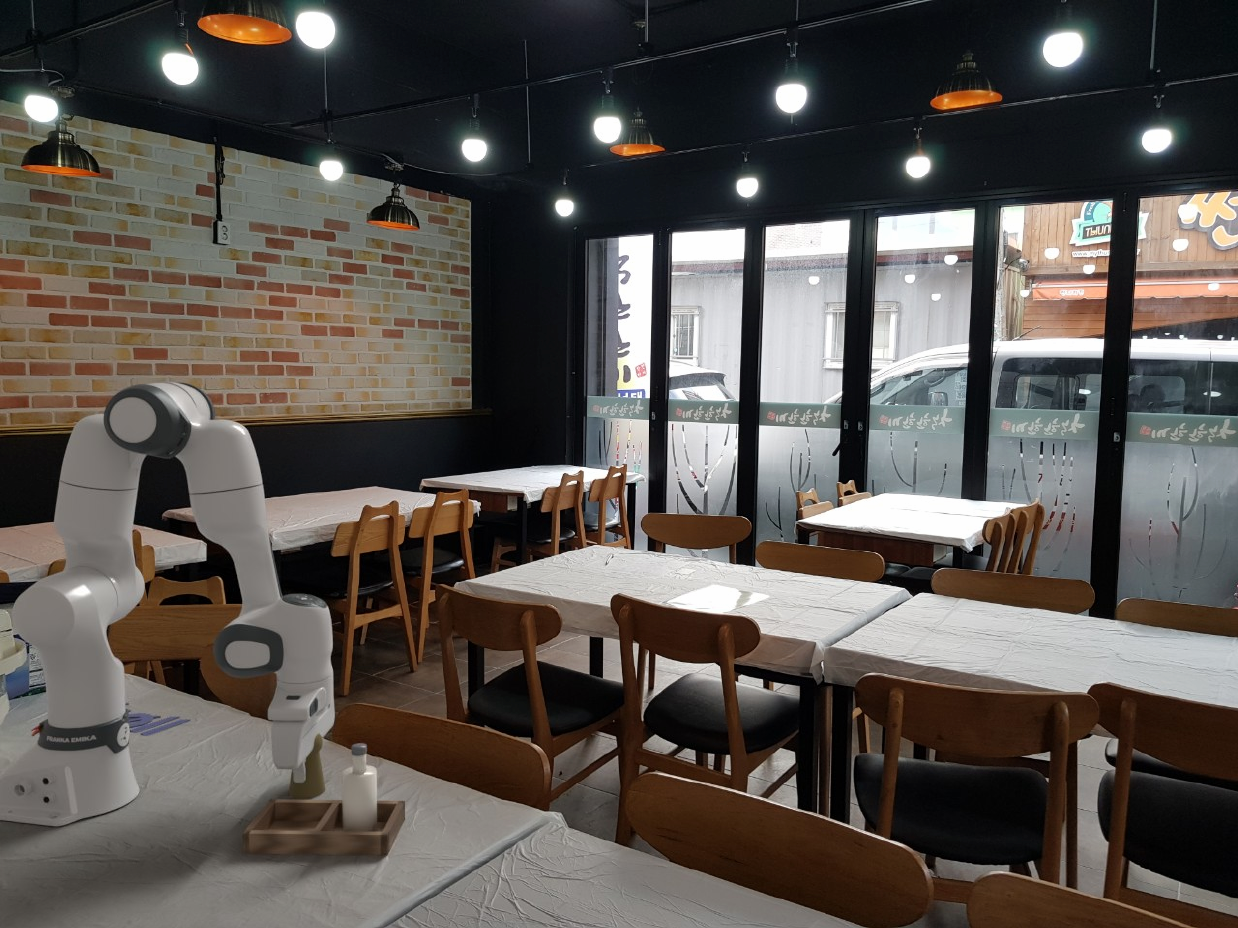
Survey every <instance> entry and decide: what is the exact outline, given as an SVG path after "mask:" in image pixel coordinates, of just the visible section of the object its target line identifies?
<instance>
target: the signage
mask: <svg viewBox="0 0 1238 928" xmlns="http://www.w3.org/2000/svg"><path fill="white" fill-rule="evenodd" d="M126 706H129V702H125V707H126ZM126 709H127V710H128V713H129V729H130V733H131V732H132V733H134V734H137V733H140V735H141V736H145V737H149V736H153V735H155V734H158V733H161V732H163V731H166V730H169V729H172V728H174V727H176V726H180V725H182V724H186V723H188V722H190V721H191V719H190V718H189V719H187V718H185V719H182V718H180V716H169V717H165V718H164V717H163V718H162V717H161V715H157V714H155V715H153V714H150V713H143V712H142V713H141V712H136V713H135V712H134V713H130V712H132V710H131V709H129V708H126ZM155 719H159V720H157V721H153V720H155ZM160 719H161V720H160ZM177 719H178V720H177ZM151 722H152V723H151ZM166 723H167V724H166ZM163 724H164V725H163Z"/></svg>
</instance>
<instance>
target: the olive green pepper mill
mask: <svg viewBox="0 0 1238 928" xmlns="http://www.w3.org/2000/svg"><path fill="white" fill-rule="evenodd" d="M323 743H324V741H323V738H322V736H321V735H320V733H319V734H317V736H316V737H315V740H314V747H313V750H312V751H311V752H310V754H309V755H308V756H307V757H306V762H305V769H307V778H306V780H305V781H304V782H303V783H295V782H294V775H293V771H292V770H291V772H290V773H291V774H290V784H289V791H288V795H289V797H290V798H292V799H294V800H311V799H314V798H317V797H319V796H321V795H323V794H324V793H325V792H326V785H325V778H324V771H323V766H322V759H321V758H322V757H321V750H322V747H323V745H324V744H323Z"/></svg>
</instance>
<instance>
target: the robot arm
mask: <svg viewBox="0 0 1238 928" xmlns="http://www.w3.org/2000/svg"><path fill="white" fill-rule="evenodd" d="M103 411H104V413H98V414H97V413H95V414H90V415H88V416H85V417H83V418H81V419H80V420H79V421H77V422H76V424H75V425H74V427H73V428H72V431H71V434H70V437H69V439H68V443H67V445H66V449H65V453H64V455H63V456H64V457H63V459H62V460H63V461H62V465H61V470H60V476H59V482H58V489H57V496H56V504H55V512H54V520H53V528H54V531H55V533H56V534H57V535H58V536H59V537H60V538H61V539H62V542H63V545H64V553H65V565H64V568H63V570H62V571H59V572H56V573H53V574H51V575H47V576H45V577H43V578H41V579H39V580H37V581H36V582H35V583H33V584H32V585H30V586H29V587H28V588H27V589H25V590H24V591H23V592H21V594H20V595H19V596H18V597H17V599H16V600H15V602H14V604H13V607H12V611H11V620H12V624H13V627H14V629H15V632H16V633H17V634H18V635H19V637H20V638H21V639H22V640H23V641H24V642H26V643H28V644H29V645H31V646H32V647H33V649H34V650H35V652H36V654H37V657H38V659H39V662H40V664H41V666H42V670H43V671H42V672H43V674H44V680H45V691H46V694H45V695H46V705H47V706H46V707H47V718H46V719H44V720H42V721H41V722H39V723H38V725H37V726H35V727H34V728H32V729H30V731H31V732H32V733H31V737H34V736H36V735H38V734H39V737H38V739H37V743H35V744H34V745H32V746H31V747H30V748H29V749H27V750H26V751H25V752H24V753H22V754H20V756H18V757H17V758H16V759H15V760H13V761H12V762H11V763H10V764H8V765H7V767H6V768H4V770H3V772H1V775H0V821H8V822H15V823H24V824H32V825H41V826H50V827H51V826H52V827H60V826H61V827H62V826H66V825H68V824H71V823H74V822H76V821H79V820H82V819H85V818H90V817H93V816H98V815H102V814H106V813H108V812H112V811H114V810H116V809H119V808H121V807H124V806H126V805H127V804H129V803H131V801H133V800H134V799H135V798H137V796H138V795H139V793H140V787H139V785H138V781H137V779H136V775H135V773H134V769H133V765H132V759H131V755H130V749H129V748H130V747H129V746H130V745H129V744H130V733H131V732H130V730H131V728H129V724H130V723H129V714H130V712H128V710H129V709H128V708H126V706H125V703H126V683H125V667H124V664H123V662H122V661H121V660H120V659H119V658H117V657H115V655H114V654H113V652H112V650H111V646H110V644H109V641H108V636H107V630H108V626H109V625H112V624H115V623H116V622H117V621H119V620H122V619H124V618H125V617H126V616H127V615H129V613H130V612H132V611H133V610H134V608H135V607H136V606H138V604H139V603H140V602H141V601H142V598H143V596H144V593H145V588H146V587H145V585H146V584H145V579H144V576H143V574H142V572H141V570H140V569H139V567H137V566H136V559H135V552H134V543H133V542H134V541H133V527H134V520H135V512H136V507H137V506H136V505H137V499H138V491H139V482H140V474H141V469H142V466H143V462H144V460H145V458H146V457H147V456H152V457H155V458H156V457H157V458H162V459H168V460H169V459H170V460H171V459H173V458H174V457H175V458H177V460H179V461H180V462H181V464H182V465H183V468H184V471H185V475H186V480H187V486H188V487H187V488H188V494H189V501H190V507H191V511H192V515H193V519H194V522H195V523H196V526H197V529H198V531H199V532H200V533H201V534H202V535H203V536H204V537H205V538H206V539H207V540H209V541H211V542H212V543H215V544H218V545H219V546H222V547H223V549H225V550H226V551H227V552H228V553H229V554H230V556H231V558H232V560H233V562H234V563H233V564H234V568H235V572H236V575H237V580H238V586H239V589H240V595H241V600H242V603H241V605H242V606H241V610H240V613H239V615H238V617H236V618H235V619H233V620H231V622H230V623H228V624H227V625H226V626H225V627H223V629H222V630H220V632H219V633H218V634H217V636H216V638H215V640H214V642H213V647H212V649H213V650H212V651H213V652H212V653H213V657H214V661H215V662H216V664H217V666H218V667H219V669H220V670H221V671H223V672H224V673H225V674H226V675H228V676H229V677H233V678H237V679H249V678H255V677H260V676H261V677H262V676H266V675H270V674H273V673H274V674H275V675H276V688H275V691H274V695H273V698H272V700H271V702H270V704H269V706H268V708H267V719H268V720H269V721H272V723H271V727H270V740H271V741H270V742H271V755H272V762H273V765H274V767H275V768H276V769H277V770H291V772H292V771H293V775H294V782H295V783H303V782H304V781H305V780H306V778H307V769H305V762H306V757H307V756H308V755H309V754H310V752H311V751H312V750H313V747H314V740H315V737H316V736H317V734H319V733H320V735H321V736H322V739H323V738H325V736H326V735H327V734H328V732H329V731H330V730H331V729H332V728H333V726H334V724H335V718H336V716H335V713H336V712H335V711H336V710H335V699H334V697H335V696H334V670H333V666H332V660H331V656H332V652H333V645H334V642H333V626H332V625H333V624H332V618H331V614H330V613H331V612H330V609H329V606H328V605H327V603H326V601H325V600H323V599H321V598H320V597H317V596H315V595H313V594H306V593H289V594H285V595H284V594H283V593H282V589H281V585H280V580H279V576H278V571H277V566H276V562H275V556H274V552H273V548H272V542H271V539H270V533H269V527H268V520H267V519H268V517H267V507H266V498H265V489H264V484H263V477H262V473H261V467H260V463H259V458H258V456H257V452H256V448H255V445H254V443H253V440H252V437H251V434H250V433H249V430H248V429H247V428H246V427H245V426H244V425H242V424H241V423H239V422H237V421H234V420H230V419H221V418H220V419H216V410H215V407H214V403H213V402H212V400H211V398H210V397H209V395H208V394H206V393H205V392H204V391H203V390H202V389H201V388H199V387H197V386H194V385H193V384H189V383H186V382H174V381H154V382H151V383H144V384H143V383H142V384H141V383H140V384H133V385H131V386H127V387H126V388H123V389H121V390H119V391H118V392H117V393H115V394H114V395H113V396H112V397H111V398H110V399H109V401H108V402H107V404H106V405H105V408H104V410H103ZM127 709H128V710H127Z"/></svg>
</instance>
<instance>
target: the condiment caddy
mask: <svg viewBox="0 0 1238 928" xmlns="http://www.w3.org/2000/svg"><path fill="white" fill-rule="evenodd" d="M405 820H406V801H405V800H377V832H364V831H343V807H342V799H282V798H281V799H278V798H276V799H274V798H273V799H272V798H271V799H269V800H268V802H267V803H266V804H265V806H264V807H263V808H262V809H261V810H260V812H258V814H257V815H256V816H255V817H254V819H253V820H252V821H251V822H250V823H249V825H248V826H247V827H246V828H245V830H244V831H243V832H242V833H241V839H242V840H241V841H242V842H241V843H242V846H241V847H242V854H243V855H248V854H249V855H316V856H317V855H319V856H321V855H322V856H324V855H325V856H326V855H327V856H329V855H331V856H334V855H335V856H344V855H345V856H388V855H389V853H390V852H391V849H392V847H393V845H394V843H395V841H396V839H397V837H398V835H399V832H400V830H401V829H402V826H403V824H404V822H405Z"/></svg>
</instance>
